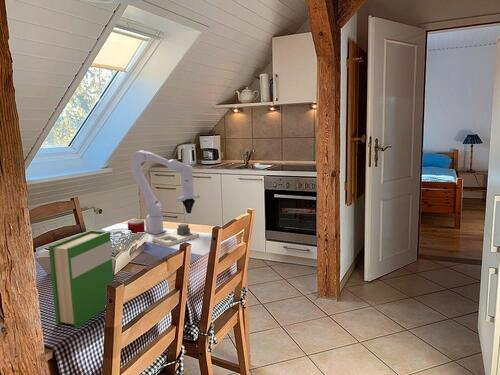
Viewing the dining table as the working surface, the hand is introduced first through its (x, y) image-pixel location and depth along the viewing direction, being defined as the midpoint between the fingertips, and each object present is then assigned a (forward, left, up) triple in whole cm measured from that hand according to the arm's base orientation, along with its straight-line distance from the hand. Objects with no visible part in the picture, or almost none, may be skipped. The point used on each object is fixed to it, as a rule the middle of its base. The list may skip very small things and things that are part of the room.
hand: (188, 213), depth 216 cm
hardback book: (+47, -82, -10) cm, 95 cm away
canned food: (-4, -30, -10) cm, 32 cm away
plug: (+6, -9, -10) cm, 14 cm away
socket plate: (+6, -14, -10) cm, 18 cm away
